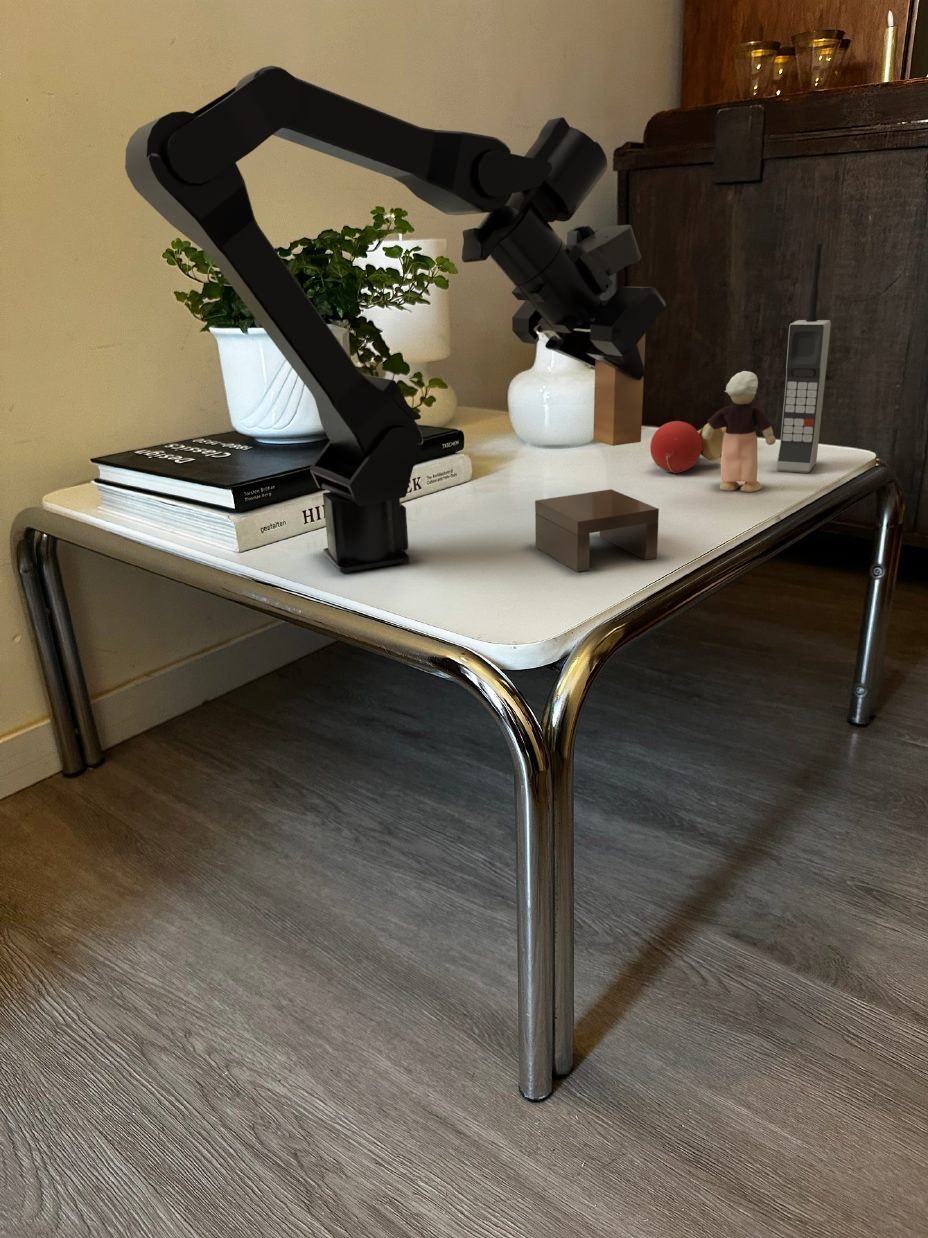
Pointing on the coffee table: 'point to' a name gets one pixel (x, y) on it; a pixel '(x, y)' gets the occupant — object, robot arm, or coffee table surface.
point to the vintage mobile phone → (804, 386)
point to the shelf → (594, 526)
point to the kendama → (684, 446)
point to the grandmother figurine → (740, 434)
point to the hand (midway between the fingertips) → (630, 374)
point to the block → (617, 404)
